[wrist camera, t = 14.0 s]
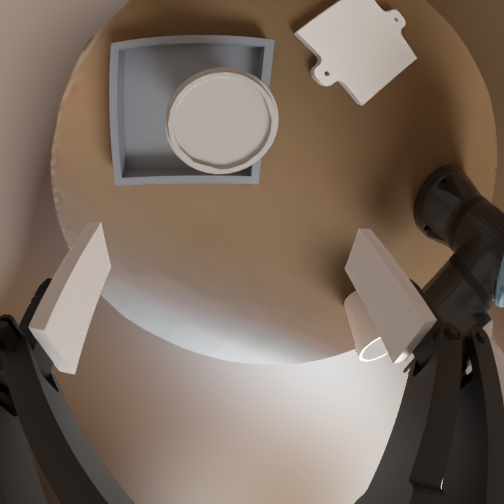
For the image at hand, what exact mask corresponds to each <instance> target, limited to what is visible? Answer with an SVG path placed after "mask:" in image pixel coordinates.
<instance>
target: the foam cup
mask: <svg viewBox="0 0 504 504" xmlns="http://www.w3.org/2000/svg"><path fill="white" fill-rule="evenodd" d="M344 307H345V311H346V314H347V317H348V321H349V324H350V328H351V331H352V335H353V338H354V342H355V349H356V352H357V354H358V356H359V359H360V360H362V361H373V360H375V359H378V358H381V357H383V356H384V355H386V354H388V351H387V349H386V347H385V345H384V343H383V341H382V339H381V337H380V335H379V333H378V331H377V329H376V327H375V325H374V323H373V321H372V319H371V317H370V315H369V313H368V311H367V309H366V307H365V306H364V304H363V302H362V300H361V298H360V296H359V294H358V292H357V291H354V292H353V293H351V294H350V295H349V296H348V297H347V298H346V299H345V302H344Z"/></svg>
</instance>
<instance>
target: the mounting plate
mask: <svg viewBox="0 0 504 504" xmlns="http://www.w3.org/2000/svg"><path fill="white" fill-rule="evenodd" d="M405 25H406V22H405V20H404V18H403V17H402V15H401V14H400V13H399V12H398V11H397V10H389V11H386V12H385V11H383V10H382V9H381V8H380V6H379V5H378V4H377V3H376V2H375V1H374V0H339V1H338V2H336V3H335V4H333V5H332V6H330V7H329V8H327V9H326V10H324V11H323V12H321V13H320V14H319V15H317V16H316V17H315V18H313V19H312V20H310V21H309V22H308V23H306V24H305V25H304V26H303V27H301V28H300V29H299V30H297V31H296V32H295V33H294V35H295V36H296V37H297V38H298V39H299V40H300V41H301V42H302V43H303V44H304V45H305V46H306V47H307V48H308V49H309V50H310V51H311V52H312V53H313V54H314V55H315V56H316V58H317V63H316V65H315V66H313V67H312V68H311V70H310V75H311V77H312V78H313V79H314V80H315V81H316V82H317V83H318V84H319V85H322V86H331V85H332V84H333V83H334V82H336V81H338V82H339V83H340V84H341V85H342V86H343V87H344V88H345V90H346V91H347V92H348V93H349V95H350V96H351V97H352V98H353V100H354V101H355V102H356V103H357V104H358V105H362V106H363V105H364V104H365V103H366V102H367V101H368V100H369V99H371V98H372V97H373V96H374V95H375V94H376V93H377V92H378V91H380V90H381V89H382V88H383V87H384V86H385V85H386V84H388V83H389V82H390V81H391V80H392V79H393V78H395V77H396V76H397V75H398V74H399V73H400V72H402V71H403V70H404V69H405V68H406V67H407V66H409V65H410V64H411V63H412V62H413V61H414V60H416V59H417V58H416V56H415V54H414V53H413V51H412V50H411V48H410V47H409V45H408V44H407V42H406V41H405V39H404V38H403V36H402V35H401V29H402V28H403V27H404V26H405ZM324 73H325V74H324Z"/></svg>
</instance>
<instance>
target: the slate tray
mask: <svg viewBox="0 0 504 504" xmlns="http://www.w3.org/2000/svg"><path fill="white" fill-rule="evenodd" d="M274 43H275V40H271V39H263V38H254V37H243V36H227V35H177V36H161V37H150V38H141V39H134V40H127V41H121V42H115V43H111V51H110V72H109V113H110V135H111V149H112V161H113V171H114V179H115V186H122V185H141V184H172V183H234V184H259V176H260V167H261V158H262V157H261V158H260V159H259V160H258V161H257V162H255V163H254V164H252V165H251V166H249V167H247V168H245V169H242V170H240V171H237V172H233V173H227V174H212V173H206V172H203V171H199V170H197V169H195V168H193V167H191V166H189V165H187V164H186V163H185V162H183V161H182V160H181V159H180V158H179V157H178V156H177V155H176V154H175V152H174V151H173V149H172V147H171V146H170V144H169V142H168V139H167V136H166V132H165V113H166V109H167V106H168V103H169V101H170V98H171V97H172V95H173V94H174V92H175V91H176V90H177V88H178V87H179V86H180V85H181V84H182V83H183V82H184V81H186V80H187V79H188V78H190V77H191V76H193V75H195V74H196V73H199V72H201V71H204V70H207V69H212V68H219V67H229V68H235V69H240V70H242V71H245V72H248V73H250V74H252V75H253V76H255V77H257V78H258V79H259V80H261V81H262V82H263V83H264V84H265V85H266V86H267V88H268V89H269V87H270V78H271V69H272V61H273V52H274Z"/></svg>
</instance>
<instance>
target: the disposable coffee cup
mask: <svg viewBox="0 0 504 504" xmlns="http://www.w3.org/2000/svg"><path fill="white" fill-rule="evenodd" d="M277 129H278V109H277V105H276V102H275V99H274V97H273V95H272V93H271V92H270V90H269V89H268V88H267V86H266V85H265V84H264V83H263V82H262V81H261V80H259V79H258V78H257V77H255V76H253V75H252V74H250V73H248V72H245V71H242V70H240V69H235V68H229V67H219V68H212V69H207V70H204V71H201V72H199V73H196V74H195V75H193V76H191V77H190V78H188V79H187V80H186V81H184V82H183V83H182V84H181V85H180V86H179V87H178V88H177V90H176V91H175V92H174V94H173V95H172V97H171V98H170V101H169V103H168V106H167V109H166V113H165V132H166V136H167V139H168V142H169V144H170V146H171V147H172V149H173V151H174V152H175V154H176V155H177V156H178V157H179V158H180V159H181V160H182V161H183V162H185V163H186V164H187V165H189V166H191V167H193V168H195V169H197V170H199V171H203V172H206V173H212V174H227V173H233V172H237V171H240V170H242V169H245V168H247V167H249V166H251V165H252V164H254V163H255V162H257V161H258V160H259V159H260V158H261V157H262V156H263V155H264V154H265V153H266V152H267V151H268V149H269V148H270V146H271V145H272V143H273V141H274V139H275V136H276V133H277Z"/></svg>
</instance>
